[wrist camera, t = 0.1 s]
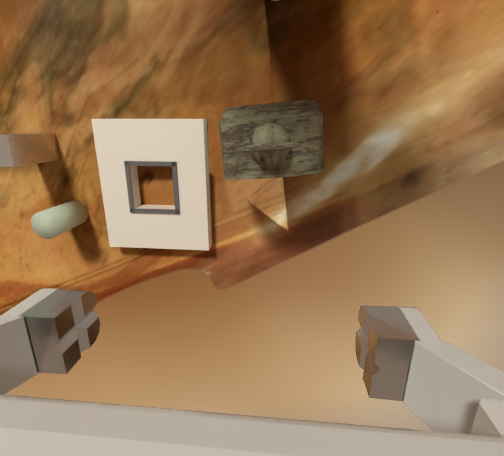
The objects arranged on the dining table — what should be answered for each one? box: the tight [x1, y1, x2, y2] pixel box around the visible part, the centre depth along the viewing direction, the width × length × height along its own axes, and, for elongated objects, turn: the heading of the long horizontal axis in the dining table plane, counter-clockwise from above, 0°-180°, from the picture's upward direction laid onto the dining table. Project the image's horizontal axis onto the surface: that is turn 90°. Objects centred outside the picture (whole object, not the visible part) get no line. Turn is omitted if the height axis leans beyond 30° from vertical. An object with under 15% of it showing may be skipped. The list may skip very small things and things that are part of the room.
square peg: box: [0, 133, 60, 167], centre depth 56 cm, size 5×5×11 cm
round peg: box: [31, 200, 88, 239], centre depth 60 cm, size 5×5×9 cm
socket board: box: [91, 119, 212, 250], centre depth 60 cm, size 24×20×3 cm
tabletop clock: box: [219, 100, 324, 180], centre depth 45 cm, size 14×9×25 cm, turn 95°
